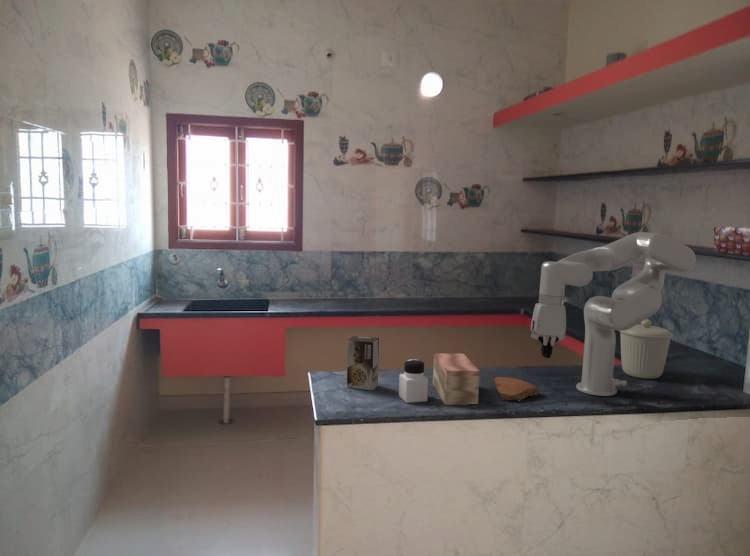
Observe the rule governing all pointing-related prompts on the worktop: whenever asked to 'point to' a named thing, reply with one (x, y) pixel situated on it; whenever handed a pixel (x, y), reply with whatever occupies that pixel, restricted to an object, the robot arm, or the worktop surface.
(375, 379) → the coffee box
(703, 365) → the worktop surface
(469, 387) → the overhang bay
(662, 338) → the canister
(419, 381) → the medicine bottle
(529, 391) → the ceramic shard
